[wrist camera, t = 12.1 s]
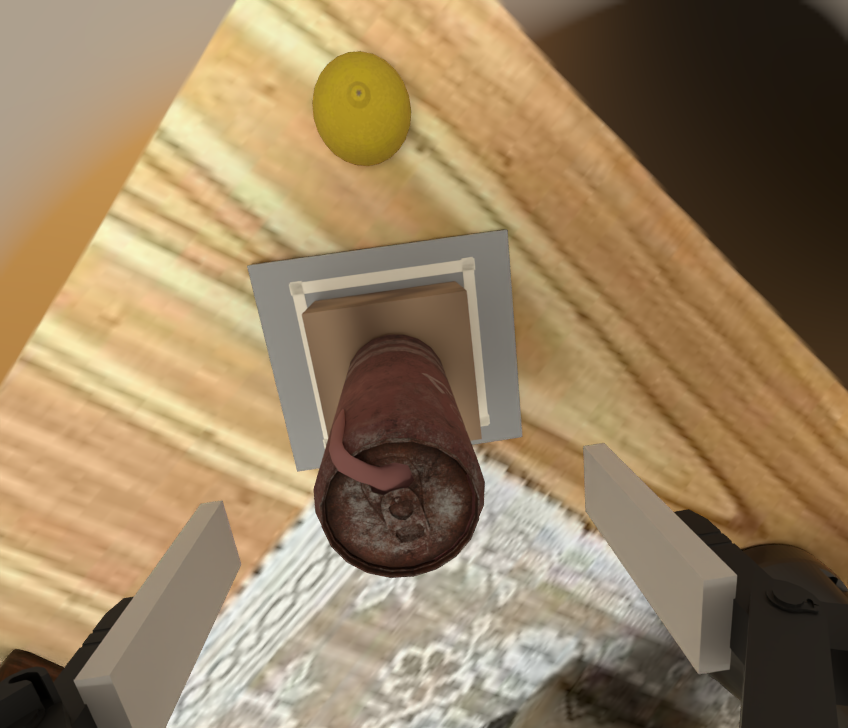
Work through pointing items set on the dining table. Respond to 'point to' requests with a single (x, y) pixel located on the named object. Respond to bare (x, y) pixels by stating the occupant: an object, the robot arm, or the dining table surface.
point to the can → (398, 464)
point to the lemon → (361, 108)
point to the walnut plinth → (389, 315)
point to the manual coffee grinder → (26, 664)
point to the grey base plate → (382, 271)
